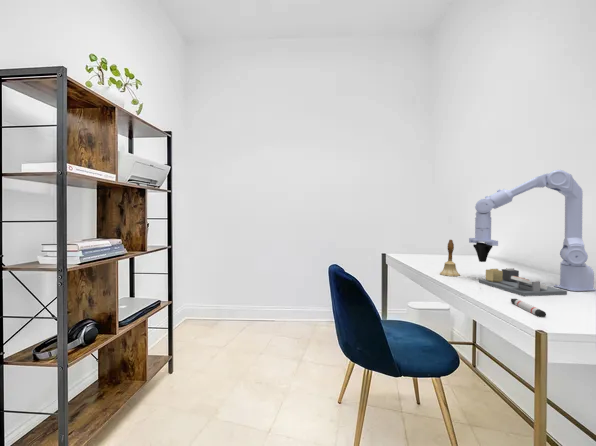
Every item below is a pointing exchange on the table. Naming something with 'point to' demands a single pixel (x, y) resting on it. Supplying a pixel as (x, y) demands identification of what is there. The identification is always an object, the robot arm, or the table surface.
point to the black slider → (509, 274)
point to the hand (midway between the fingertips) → (482, 261)
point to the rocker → (527, 281)
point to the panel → (524, 288)
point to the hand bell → (450, 262)
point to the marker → (528, 307)
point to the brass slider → (494, 275)
